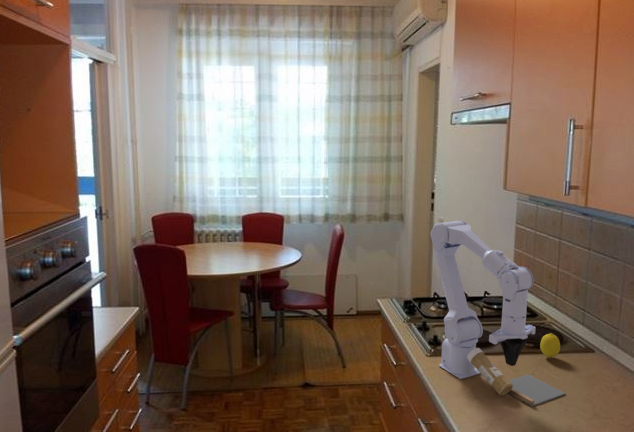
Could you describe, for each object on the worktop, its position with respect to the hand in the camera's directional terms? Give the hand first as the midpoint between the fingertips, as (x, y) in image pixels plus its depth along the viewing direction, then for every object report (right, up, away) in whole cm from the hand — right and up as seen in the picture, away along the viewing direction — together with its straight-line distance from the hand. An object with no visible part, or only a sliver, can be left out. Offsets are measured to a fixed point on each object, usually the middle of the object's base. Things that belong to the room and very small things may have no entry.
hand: (510, 364), depth 134 cm
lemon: (+21, -5, +25) cm, 33 cm away
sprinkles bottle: (-1, -7, +1) cm, 8 cm away
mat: (+7, -9, +5) cm, 12 cm away
